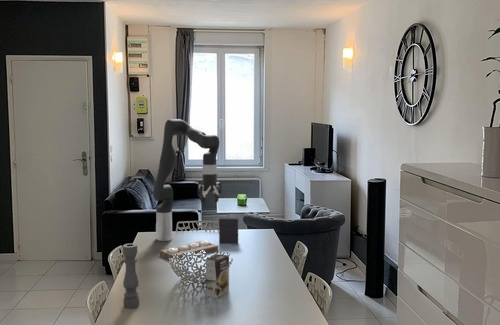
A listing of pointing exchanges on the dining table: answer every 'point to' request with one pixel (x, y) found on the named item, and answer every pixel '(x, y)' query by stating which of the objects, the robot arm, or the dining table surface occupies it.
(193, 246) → the button three dots
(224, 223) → the dark brown box
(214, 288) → the coffee box
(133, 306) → the candle holder
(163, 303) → the dining table surface
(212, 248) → the brown flat block
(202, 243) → the button one dot
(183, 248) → the button blank
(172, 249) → the button two dots
